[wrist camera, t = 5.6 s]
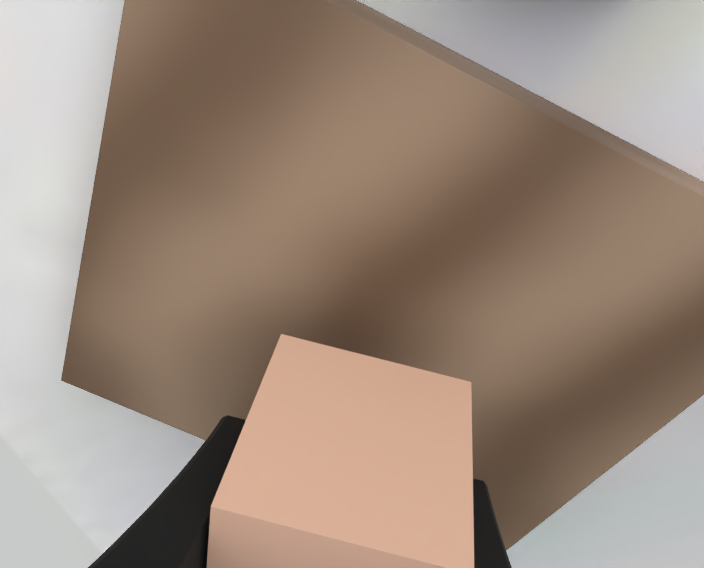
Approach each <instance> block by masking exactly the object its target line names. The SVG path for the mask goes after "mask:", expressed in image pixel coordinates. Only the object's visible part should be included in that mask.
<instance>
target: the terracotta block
mask: <svg viewBox="0 0 704 568" xmlns="http://www.w3.org/2000/svg"><path fill="white" fill-rule="evenodd" d="M207 568H474V516H473V454H472V392H471V382H469V381H465V380H461V379H457V378H454V377H450V376H446V375H442V374H438V373H434V372H430V371H426V370H422V369H418V368H414V367H410V366H406V365H402V364H398V363H394V362H390V361H386V360H382V359H378V358H375V357H371V356H367V355H363V354H359V353H355V352H351V351H347V350H343V349H339V348H335V347H331V346H327V345H323V344H319V343H315V342H311V341H307V340H303V339H299V338H296V337H292V336H288V335H284V334H281V335H280V338H279V340H278V343H277V345H276V348H275V350H274V353H273V355H272V358H271V360H270V362H269V365H268V367H267V370H266V372H265V375H264V377H263V380H262V382H261V385H260V387H259V389H258V392H257V394H256V397H255V399H254V402H253V404H252V407H251V409H250V411H249V414H248V416H247V419H246V421H245V424H244V426H243V429H242V431H241V434H240V436H239V438H238V441H237V443H236V446H235V448H234V451H233V453H232V456H231V458H230V461H229V463H228V465H227V468H226V470H225V473H224V475H223V478H222V480H221V483H220V485H219V488H218V490H217V492H216V495H215V497H214V500H213V502H212V505H211V510H210V525H209V539H208V554H207Z"/></svg>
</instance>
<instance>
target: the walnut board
mask: <svg viewBox="0 0 704 568" xmlns="http://www.w3.org/2000/svg"><path fill="white" fill-rule="evenodd" d="M281 334H284V335H288V336H292V337H296V338H299V339H303V340H307V341H311V342H315V343H319V344H323V345H327V346H331V347H335V348H339V349H343V350H347V351H351V352H355V353H359V354H363V355H367V356H371V357H375V358H378V359H382V360H386V361H390V362H394V363H398V364H402V365H406V366H410V367H414V368H418V369H422V370H426V371H430V372H434V373H438V374H442V375H446V376H450V377H454V378H457V379H461V380H465V381H469V382H471V392H472V454H473V478H474V479H478V480H481V481H484V482H485V484H486V485H487V488H488V492H489V495H490V499H491V503H492V506H493V510H494V514H495V517H496V521H497V524H498V527H499V531H500V534H501V537H502V540H503V543H504V546H505V550H507V549H509V548H510V547H511V546H512V545H514V544H515V543H516V542H517V541H519V540H520V539H521V538H523V537H524V536H525V535H526V534H528V533H529V532H530V531H531V530H533V529H534V528H535V527H536V526H538V525H539V524H540V523H542V522H543V521H544V520H545V519H547V518H548V517H549V516H550V515H552V514H553V513H554V512H555V511H557V510H558V509H559V508H561V507H562V506H563V505H564V504H566V503H567V502H568V501H569V500H571V499H572V498H573V497H574V496H576V495H577V494H578V493H580V492H581V491H582V490H583V489H585V488H586V487H587V486H588V485H590V484H591V483H592V482H594V481H595V480H596V479H597V478H599V477H600V476H601V475H602V474H604V473H605V472H606V471H607V470H609V469H610V468H611V467H613V466H614V465H615V464H616V463H618V462H619V461H620V460H621V459H623V458H624V457H625V456H626V455H628V454H629V453H630V452H632V451H633V450H634V449H635V448H637V447H638V446H639V445H640V444H642V443H643V442H644V441H646V440H647V439H648V438H649V437H651V436H652V435H653V434H654V433H656V432H657V431H658V430H659V429H661V428H662V427H663V426H665V425H666V424H667V423H668V422H670V421H671V420H672V419H673V418H675V417H676V416H677V415H678V414H680V413H681V412H682V411H684V410H685V409H686V408H687V407H689V406H690V405H691V404H692V403H694V402H695V401H696V400H698V399H699V398H700V397H701V396H703V395H704V182H702V181H700V180H699V179H697V178H695V177H693V176H691V175H689V174H687V173H685V172H683V171H681V170H679V169H678V168H676V167H674V166H672V165H670V164H668V163H666V162H664V161H662V160H660V159H658V158H657V157H655V156H653V155H651V154H649V153H647V152H645V151H643V150H641V149H639V148H637V147H636V146H634V145H632V144H630V143H628V142H626V141H624V140H622V139H620V138H618V137H616V136H614V135H613V134H611V133H609V132H607V131H605V130H603V129H601V128H599V127H597V126H595V125H593V124H592V123H590V122H588V121H586V120H584V119H582V118H580V117H578V116H576V115H574V114H572V113H571V112H569V111H567V110H565V109H563V108H561V107H559V106H557V105H555V104H553V103H551V102H550V101H548V100H546V99H544V98H542V97H540V96H538V95H536V94H534V93H532V92H530V91H528V90H527V89H525V88H523V87H521V86H519V85H517V84H515V83H513V82H511V81H509V80H507V79H506V78H504V77H502V76H500V75H498V74H496V73H494V72H492V71H490V70H488V69H486V68H485V67H483V66H481V65H479V64H477V63H475V62H473V61H471V60H469V59H467V58H465V57H464V56H462V55H460V54H458V53H456V52H454V51H452V50H450V49H448V48H446V47H444V46H442V45H441V44H439V43H437V42H435V41H433V40H431V39H429V38H427V37H425V36H423V35H421V34H420V33H418V32H416V31H414V30H412V29H410V28H408V27H406V26H404V25H402V24H400V23H399V22H397V21H395V20H393V19H391V18H389V17H387V16H385V15H383V14H381V13H379V12H378V11H376V10H374V9H372V8H370V7H368V6H366V5H364V4H362V3H360V2H358V1H357V0H125V2H124V8H123V14H122V20H121V26H120V32H119V38H118V44H117V50H116V56H115V62H114V68H113V74H112V80H111V86H110V92H109V98H108V104H107V110H106V116H105V122H104V128H103V134H102V140H101V146H100V152H99V158H98V164H97V170H96V176H95V182H94V188H93V194H92V200H91V206H90V211H89V217H88V223H87V229H86V235H85V241H84V247H83V253H82V259H81V265H80V271H79V277H78V283H77V289H76V295H75V301H74V307H73V313H72V319H71V325H70V331H69V337H68V343H67V349H66V355H65V361H64V367H63V373H62V379H61V380H62V381H64V382H66V383H69V384H71V385H74V386H76V387H78V388H81V389H83V390H86V391H88V392H91V393H93V394H95V395H98V396H100V397H103V398H105V399H107V400H110V401H112V402H115V403H117V404H120V405H122V406H124V407H127V408H129V409H132V410H134V411H136V412H139V413H141V414H144V415H146V416H149V417H151V418H153V419H156V420H158V421H161V422H163V423H165V424H168V425H170V426H173V427H175V428H178V429H180V430H182V431H185V432H187V433H190V434H192V435H194V436H197V437H199V438H202V439H204V440H207V438H208V437H209V436H210V434H211V433H212V432H213V430H214V429H215V427H216V426H217V424H218V423H219V421H220V420H221V418H222V417H225V416H227V415H229V416H233V417H237V418H241V419H245V420H246V419H247V416H248V414H249V411H250V409H251V407H252V404H253V402H254V399H255V397H256V394H257V392H258V389H259V387H260V385H261V382H262V380H263V377H264V375H265V372H266V370H267V367H268V365H269V362H270V360H271V358H272V355H273V353H274V350H275V348H276V345H277V343H278V340H279V338H280V335H281Z"/></svg>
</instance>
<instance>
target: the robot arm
mask: <svg viewBox="0 0 704 568" xmlns="http://www.w3.org/2000/svg"><path fill="white" fill-rule="evenodd" d="M245 421H246V420H245V419H241V418H237V417H233V416H229V415H227V416H225V417H222V418H221V420H220V421H219V423H218V424H217V426H216V427H215V429H214V430H213V432H212V433H211V434H210V436H209V437H208V438H207V440H206V441H205V442H204V444H203V445H202V446H201V448H200V449H199V450H198V451H197V453H196V454H195V455H194V456H193V458H192V459H191V460H190V461H189V462H188V464H187V465H186V466H185V467H184V468H183V470H182V471H181V472H180V473H179V474H178V476H177V477H176V478H175V479H174V480H173V481H172V482H171V483H170V484H169V486H168V487H167V488H166V489H165V490H164V491H163V492H162V493H161V495H160V496H159V497H158V498H157V499H156V500H155V501H154V502H153V504H152V505H151V506H150V507H149V508H148V509H147V510H146V511H145V512H144V513H143V514H142V515H141V516H140V517H139V518H138V519H137V520H136V521H135V522H134V523H133V524H132V525H131V526H130V527H129V528H128V529H127V530H126V531H125V532H124V533H123V534H122V535H121V536H120V537H119V538H118V540H117V541H116V542H115V543H114V544H113V545H111V546H110V547H109V548H108V549H107V550H106V551H105V552H104V553H103V554H102V555H101V556H100V557H99V558H98V559H97V560H96V561H95V562H94V563H93V564H91V565H90V566H89V567H88V568H207V554H208V539H209V525H210V510H211V505H212V502H213V500H214V497H215V495H216V492H217V490H218V488H219V485H220V483H221V480H222V478H223V475H224V473H225V470H226V468H227V465H228V463H229V461H230V458H231V456H232V453H233V451H234V448H235V446H236V443H237V441H238V438H239V436H240V434H241V431H242V429H243V426H244V424H245ZM473 516H474V568H511V565H510V562H509V559H508V556H507V553H506V550H505V546H504V543H503V540H502V537H501V534H500V531H499V527H498V524H497V521H496V517H495V514H494V510H493V506H492V503H491V499H490V495H489V492H488V488H487V485H486V484H485V482H484V481H481V480H478V479H474V478H473Z"/></svg>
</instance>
